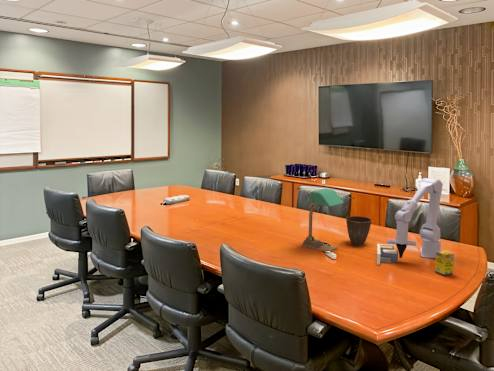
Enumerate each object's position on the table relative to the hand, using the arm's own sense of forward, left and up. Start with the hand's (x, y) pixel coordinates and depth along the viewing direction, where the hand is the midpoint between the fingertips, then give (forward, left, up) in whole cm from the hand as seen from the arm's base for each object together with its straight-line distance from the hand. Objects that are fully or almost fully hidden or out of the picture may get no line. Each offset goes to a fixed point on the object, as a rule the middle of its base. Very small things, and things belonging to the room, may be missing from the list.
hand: (400, 257), depth 230 cm
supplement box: (-20, +12, -3) cm, 23 cm away
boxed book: (+6, 0, -2) cm, 6 cm away
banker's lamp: (+44, -12, -3) cm, 46 cm away
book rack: (+7, -1, -2) cm, 8 cm away
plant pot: (+23, -26, -3) cm, 35 cm away
